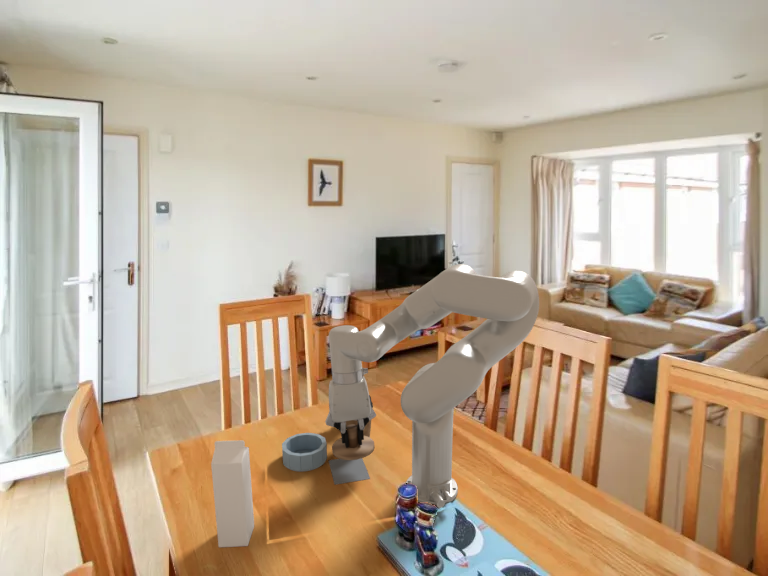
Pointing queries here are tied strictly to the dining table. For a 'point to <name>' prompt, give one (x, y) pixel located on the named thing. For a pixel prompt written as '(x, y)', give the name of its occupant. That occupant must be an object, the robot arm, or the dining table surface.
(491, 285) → the robot arm
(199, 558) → the dining table surface
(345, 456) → the lid
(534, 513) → the dining table surface
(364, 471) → the mat
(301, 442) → the bowl
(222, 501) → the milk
